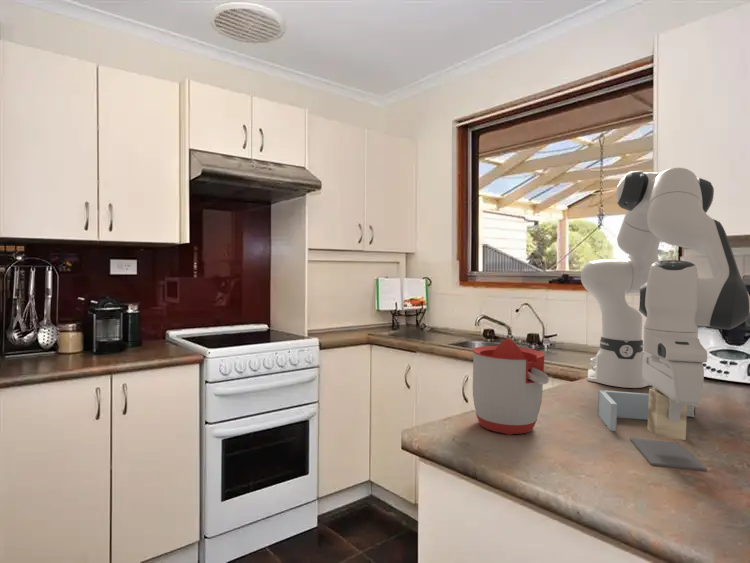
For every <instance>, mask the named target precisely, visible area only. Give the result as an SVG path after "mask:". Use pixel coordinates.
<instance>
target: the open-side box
mask: <svg viewBox="0 0 750 563" xmlns="http://www.w3.org/2000/svg"><path fill="white" fill-rule="evenodd" d="M597 395H598V396H597V397H598V399H597V415H598V417H599V418H600V419H601V421H602V422H603V423H604V425H605V426H606V425H607V426H606V428H607V429H608V430H609V431H610V430H611V432H617V419H618V418H622V419H633V420H634V419H636V420H645V421H648V401H649V393H646V392H645V393H644V392H629V391H618V390H617V391H616V390H606V389H605V390H603V389H598V394H597Z"/></svg>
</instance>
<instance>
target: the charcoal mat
mask: <svg viewBox="0 0 750 563" xmlns="http://www.w3.org/2000/svg"><path fill="white" fill-rule="evenodd" d="M629 440H630V441H632V442H631V443H632V444H633V445H634V446H635V448H636V449H637V450H638V451H639V453H640V454H641V455H642V456H643V457H644V459H645V460H646V461H647V463H649V465H651V466H659V467H667V468H679V469H685V470H686V469H687V470H696V471H704V472H706V471H707V468H706V467H705V466H704V464H703V463H701V461H700V460H698V459H697V458H696V457H695V456H694V455H693V454H691V452H689V451H688V450H687V449H686V448H685V447H684V446H683V445H682V444H680V443H679V442H675V441H665V440H656V439H644V438H635V437H633V438H632V437H629Z"/></svg>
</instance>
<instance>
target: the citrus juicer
mask: <svg viewBox="0 0 750 563" xmlns="http://www.w3.org/2000/svg"><path fill="white" fill-rule="evenodd" d="M472 353H473V354H472V355H473V358H472V360H473V362H472V399H473V400H472V401H473V405H474V409H475V414H476V418H477V421H478V422H479V425H480V426H482V427H483V428H485V429H487V430H489V431H492V432H495V433H500V434H501V433H502V434H504V435H507V436H510V435H511V436H512V435H514V434H515V435H516V434H517V435H518V434H519V435H520V434H526V433H529V432H531V431H532V430H533V429H534V427H535V425H536V423H537V421H538V416H539V413H540V411H541V406H542V402H543V386H544V385H546V384H548V383H549V376H548V375H547V373H546V372H545V356H546V355H545V353H544V352H543V351H539V350H537V349H532V348H527V347H520V346H518V345H517V344H516V342H515V341H514V340H512V339H511V338H509V337H507V338H505V339H503V340H502V341H501V342H500V344H499V345H483V346H476V347H474V348H472Z"/></svg>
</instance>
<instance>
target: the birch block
mask: <svg viewBox="0 0 750 563" xmlns="http://www.w3.org/2000/svg"><path fill="white" fill-rule="evenodd" d="M648 394H649V401H648V420H647V430H648V431H650V433H651V434H652V435H653V436H654V437H656V438H663V439H673V440H682V441H683V440H684V441H685V440H687V438H686V435H687V418H688V417H687V405H684V407H683V409H682V411H681V413H680V421H679V422H673V421H670V420H669V419H668V418H667V410H669V405H670V403H669V397H667V396H666V395H664V394H663V393H662V392H660V391H659V390H657V389H653V388H649V389H648Z"/></svg>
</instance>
